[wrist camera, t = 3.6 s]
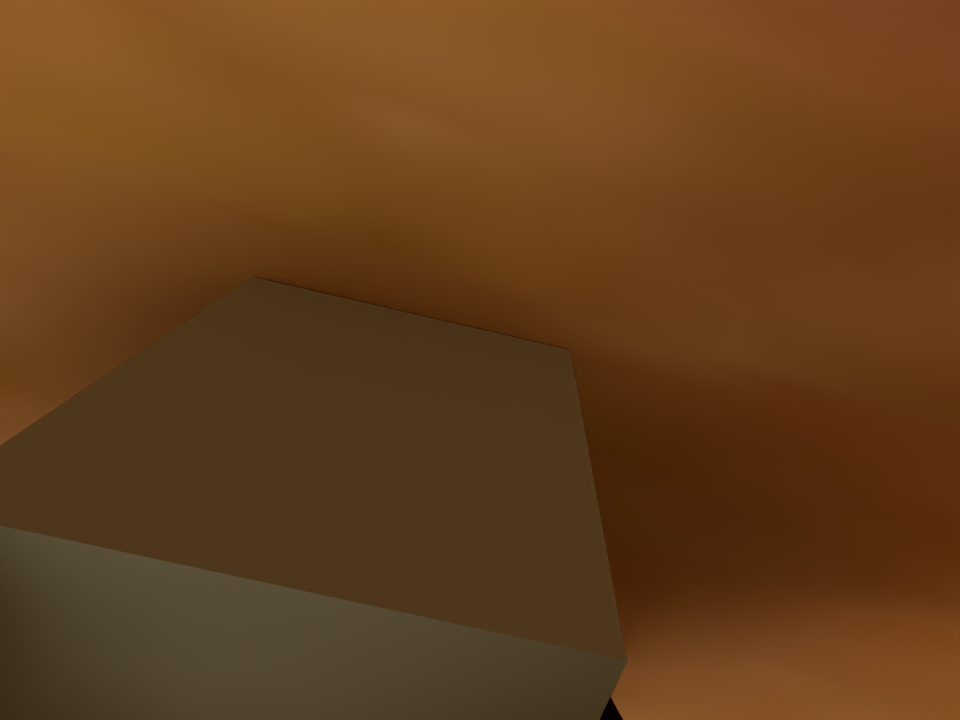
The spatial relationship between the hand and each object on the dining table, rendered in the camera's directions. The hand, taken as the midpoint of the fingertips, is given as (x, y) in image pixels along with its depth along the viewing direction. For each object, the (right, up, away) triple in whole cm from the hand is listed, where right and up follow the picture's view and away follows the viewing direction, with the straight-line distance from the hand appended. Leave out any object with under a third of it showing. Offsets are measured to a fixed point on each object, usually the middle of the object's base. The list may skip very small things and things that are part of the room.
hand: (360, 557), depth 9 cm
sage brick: (0, 0, +1) cm, 1 cm away
